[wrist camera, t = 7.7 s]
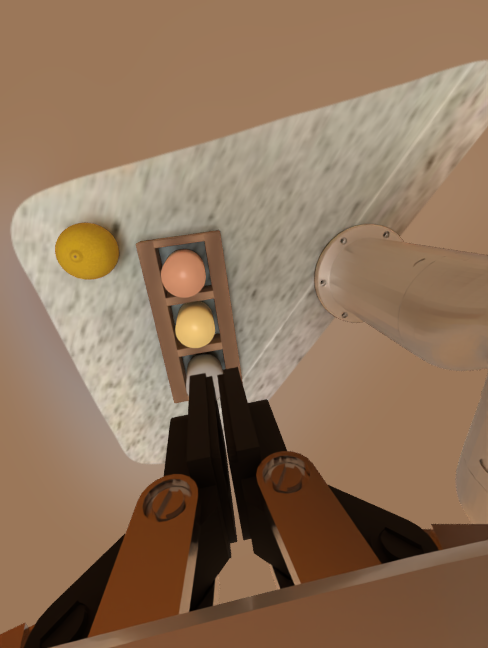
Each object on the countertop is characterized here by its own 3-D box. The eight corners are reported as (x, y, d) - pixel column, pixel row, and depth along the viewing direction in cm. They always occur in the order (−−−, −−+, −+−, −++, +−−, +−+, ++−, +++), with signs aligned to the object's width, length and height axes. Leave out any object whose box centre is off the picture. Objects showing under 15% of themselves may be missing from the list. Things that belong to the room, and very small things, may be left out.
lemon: (121, 276, 37) (103, 293, 30) (71, 264, 36) (38, 279, 28) (129, 229, 35) (111, 234, 28) (76, 215, 34) (43, 216, 27)
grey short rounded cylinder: (218, 351, 40) (221, 367, 36) (224, 381, 41) (227, 399, 37) (184, 357, 39) (182, 374, 35) (190, 387, 41) (190, 407, 37)
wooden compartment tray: (218, 230, 37) (220, 231, 34) (240, 378, 44) (243, 390, 41) (140, 241, 36) (135, 243, 33) (175, 390, 43) (174, 403, 40)
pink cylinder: (200, 246, 35) (201, 250, 31) (207, 284, 37) (209, 293, 33) (161, 252, 35) (156, 257, 31) (169, 290, 36) (166, 300, 32)
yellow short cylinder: (209, 298, 39) (211, 308, 35) (215, 330, 41) (217, 344, 36) (174, 303, 39) (171, 315, 35) (181, 336, 40) (179, 351, 36)
